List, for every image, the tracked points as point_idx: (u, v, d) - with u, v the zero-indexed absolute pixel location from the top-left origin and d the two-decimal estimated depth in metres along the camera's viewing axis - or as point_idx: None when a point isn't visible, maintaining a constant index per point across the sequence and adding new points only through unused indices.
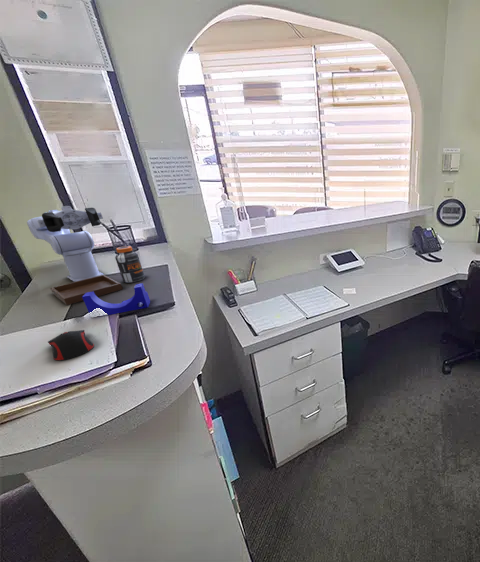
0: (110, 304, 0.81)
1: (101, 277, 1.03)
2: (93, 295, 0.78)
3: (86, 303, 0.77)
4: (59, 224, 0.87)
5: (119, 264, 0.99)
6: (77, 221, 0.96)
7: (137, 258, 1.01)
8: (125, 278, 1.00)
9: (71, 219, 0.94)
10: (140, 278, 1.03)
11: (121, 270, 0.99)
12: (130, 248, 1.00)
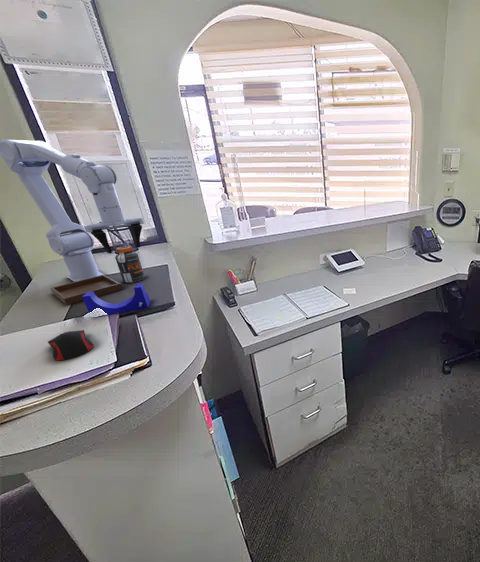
0: (110, 304, 0.81)
1: (101, 277, 1.03)
2: (93, 295, 0.78)
3: (86, 303, 0.77)
4: (106, 250, 0.97)
5: (119, 264, 0.99)
6: None
7: (137, 258, 1.01)
8: (125, 278, 1.00)
9: (115, 227, 0.97)
10: (140, 278, 1.03)
11: (121, 270, 0.99)
12: (130, 248, 1.00)
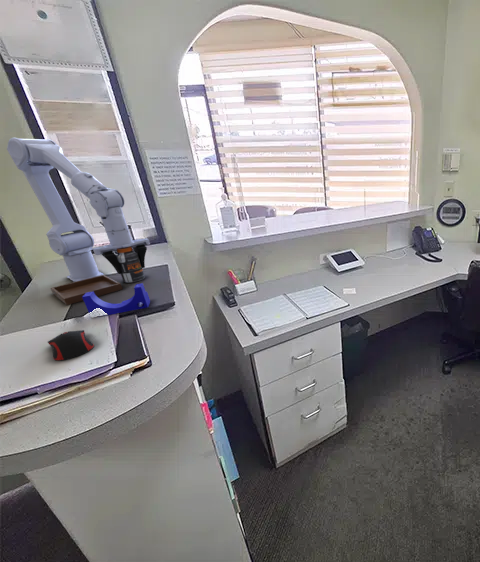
0: (110, 304, 0.81)
1: (101, 277, 1.03)
2: (93, 295, 0.78)
3: (86, 303, 0.77)
4: (116, 270, 1.00)
5: (119, 264, 0.99)
6: None
7: (137, 258, 1.01)
8: (125, 278, 1.00)
9: None
10: (140, 278, 1.03)
11: (121, 270, 0.99)
12: (130, 248, 1.00)
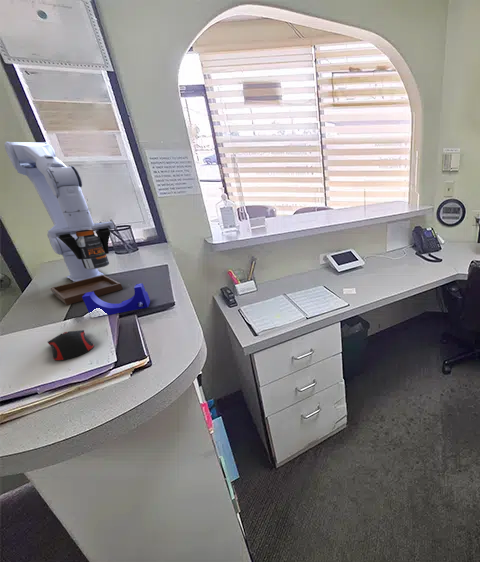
0: (110, 304, 0.81)
1: (101, 277, 1.03)
2: (93, 295, 0.78)
3: (86, 303, 0.77)
4: (76, 255, 0.92)
5: (79, 249, 0.91)
6: None
7: (99, 242, 0.93)
8: (85, 264, 0.92)
9: None
10: (103, 264, 0.95)
11: (81, 255, 0.91)
12: (91, 231, 0.92)
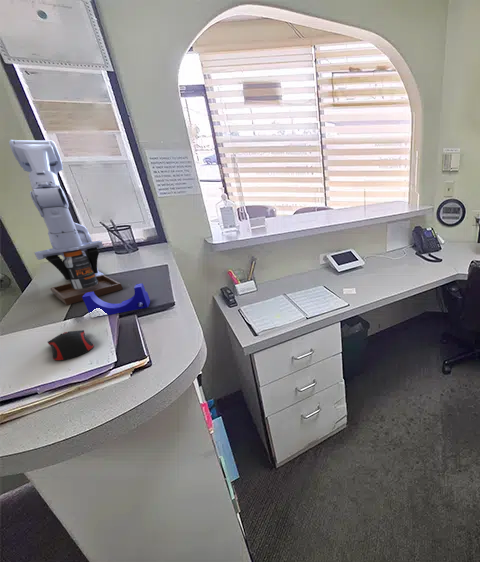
0: (110, 304, 0.81)
1: (101, 277, 1.03)
2: (93, 295, 0.78)
3: (86, 303, 0.77)
4: None
5: (66, 269, 0.90)
6: None
7: (88, 263, 0.92)
8: (73, 285, 0.91)
9: None
10: (92, 284, 0.93)
11: (69, 276, 0.90)
12: (79, 252, 0.91)
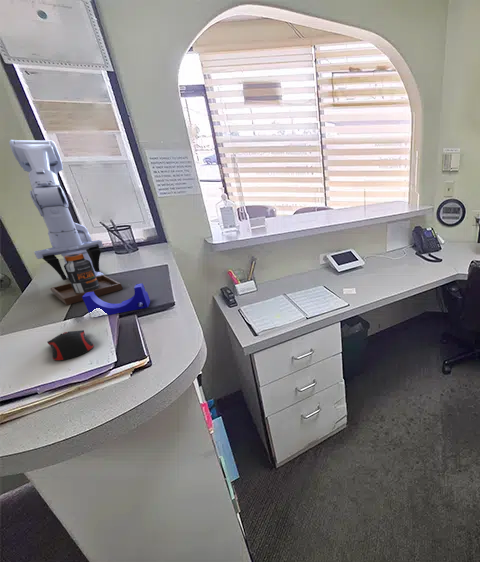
0: (110, 304, 0.81)
1: (101, 277, 1.03)
2: (93, 295, 0.78)
3: (86, 303, 0.77)
4: None
5: (68, 273, 0.90)
6: None
7: (89, 266, 0.93)
8: (75, 288, 0.92)
9: (71, 252, 0.90)
10: (93, 288, 0.94)
11: (71, 280, 0.91)
12: (81, 256, 0.91)
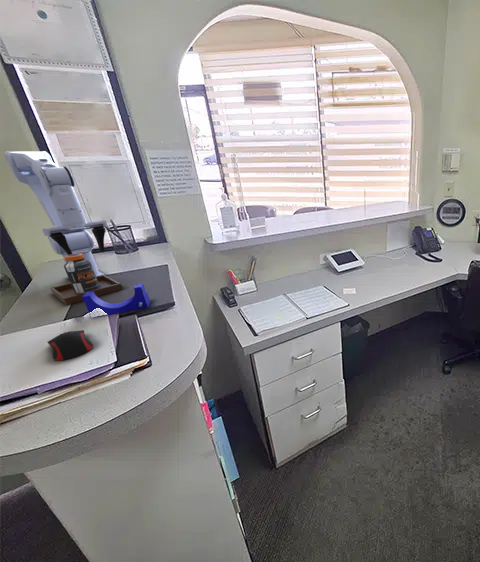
0: (110, 304, 0.81)
1: (101, 277, 1.03)
2: (93, 295, 0.78)
3: (86, 303, 0.77)
4: (67, 254, 0.94)
5: (68, 273, 0.90)
6: None
7: (89, 266, 0.93)
8: (75, 288, 0.92)
9: (77, 230, 0.94)
10: (93, 288, 0.94)
11: (71, 280, 0.91)
12: (81, 256, 0.91)
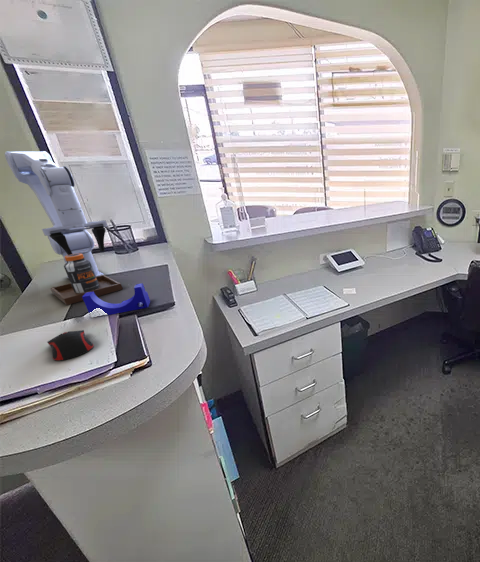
0: (110, 304, 0.81)
1: (101, 277, 1.03)
2: (93, 295, 0.78)
3: (86, 303, 0.77)
4: (67, 254, 0.94)
5: (68, 273, 0.90)
6: None
7: (89, 266, 0.93)
8: (75, 288, 0.92)
9: (77, 230, 0.94)
10: (93, 288, 0.94)
11: (71, 280, 0.91)
12: (81, 256, 0.91)
